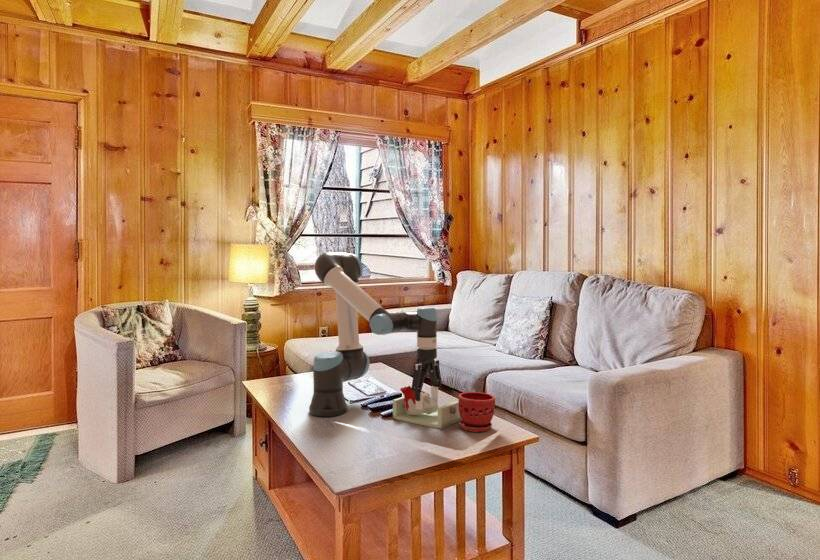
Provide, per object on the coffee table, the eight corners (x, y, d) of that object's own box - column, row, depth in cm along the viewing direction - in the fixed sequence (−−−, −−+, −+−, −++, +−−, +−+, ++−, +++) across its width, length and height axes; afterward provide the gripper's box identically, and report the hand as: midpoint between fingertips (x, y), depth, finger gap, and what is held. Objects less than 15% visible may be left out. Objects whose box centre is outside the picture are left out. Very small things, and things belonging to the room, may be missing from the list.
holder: (390, 418, 196) (390, 399, 196) (411, 410, 207) (411, 392, 207) (444, 429, 182) (444, 409, 181) (464, 420, 193) (464, 401, 193)
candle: (438, 412, 190) (413, 380, 190) (415, 429, 192) (390, 397, 193) (441, 404, 199) (417, 374, 199) (419, 420, 201) (395, 390, 202)
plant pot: (471, 436, 174) (471, 401, 174) (451, 426, 186) (451, 393, 185) (502, 430, 180) (502, 397, 180) (480, 421, 192) (480, 389, 192)
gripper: (417, 352, 183) (417, 414, 183) (450, 345, 201) (450, 401, 201) (401, 350, 188) (401, 411, 188) (435, 344, 205) (435, 399, 206)
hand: (427, 406), depth 194 cm, fingers open, 10 cm apart
